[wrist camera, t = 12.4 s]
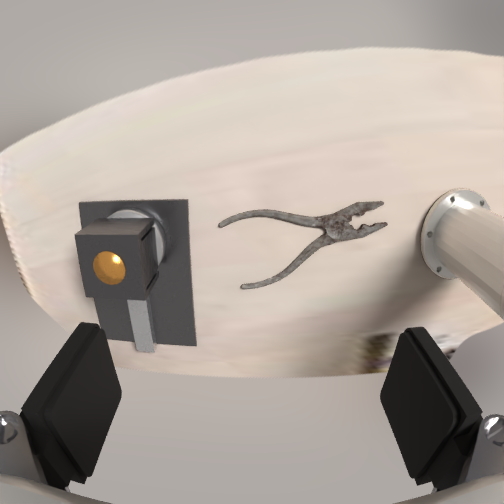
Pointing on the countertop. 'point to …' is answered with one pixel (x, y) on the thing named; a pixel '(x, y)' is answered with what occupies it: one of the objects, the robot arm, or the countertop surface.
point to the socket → (118, 258)
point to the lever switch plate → (167, 285)
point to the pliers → (332, 223)
